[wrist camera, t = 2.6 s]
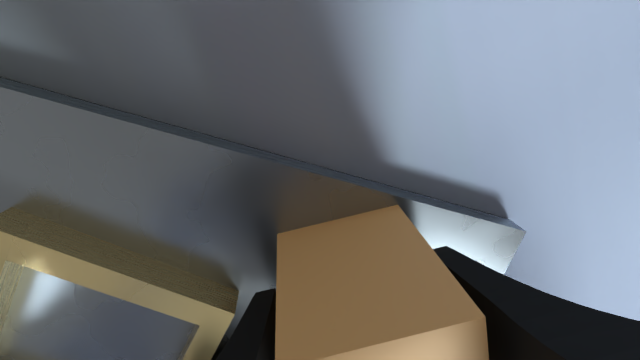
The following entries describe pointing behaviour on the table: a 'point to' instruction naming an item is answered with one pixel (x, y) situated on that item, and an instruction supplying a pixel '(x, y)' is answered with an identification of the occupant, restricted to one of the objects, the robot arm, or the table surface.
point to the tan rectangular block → (371, 294)
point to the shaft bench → (164, 229)
